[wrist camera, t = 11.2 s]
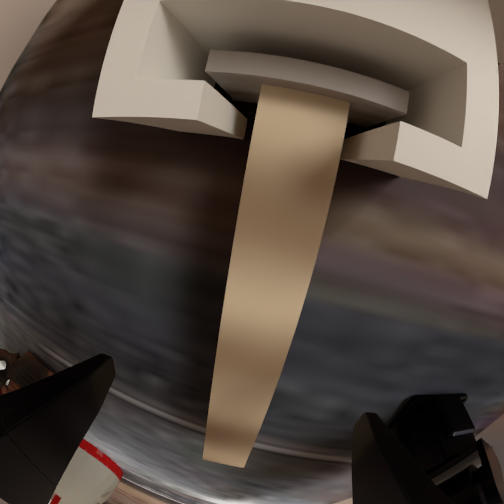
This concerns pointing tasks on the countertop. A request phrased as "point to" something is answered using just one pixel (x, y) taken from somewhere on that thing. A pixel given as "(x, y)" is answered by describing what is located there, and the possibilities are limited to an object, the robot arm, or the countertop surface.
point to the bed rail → (278, 223)
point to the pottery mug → (21, 370)
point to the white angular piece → (327, 53)
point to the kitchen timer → (87, 477)
